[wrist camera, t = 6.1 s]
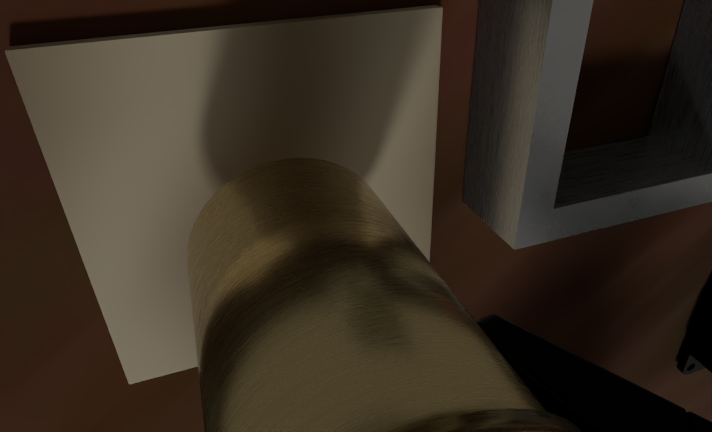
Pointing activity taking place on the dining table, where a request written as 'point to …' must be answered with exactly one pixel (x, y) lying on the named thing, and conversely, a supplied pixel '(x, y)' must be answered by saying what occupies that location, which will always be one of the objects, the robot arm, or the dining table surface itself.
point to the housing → (552, 119)
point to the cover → (336, 317)
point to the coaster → (221, 142)
